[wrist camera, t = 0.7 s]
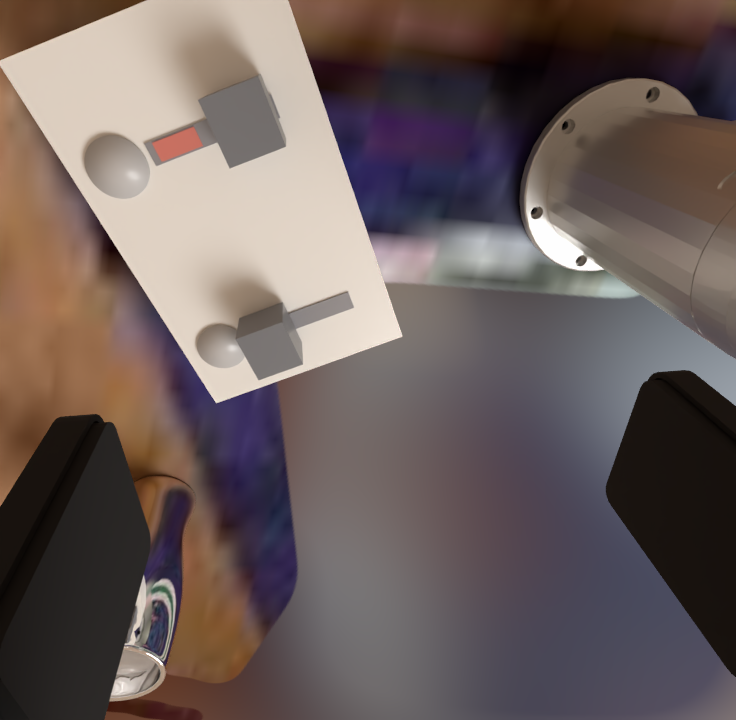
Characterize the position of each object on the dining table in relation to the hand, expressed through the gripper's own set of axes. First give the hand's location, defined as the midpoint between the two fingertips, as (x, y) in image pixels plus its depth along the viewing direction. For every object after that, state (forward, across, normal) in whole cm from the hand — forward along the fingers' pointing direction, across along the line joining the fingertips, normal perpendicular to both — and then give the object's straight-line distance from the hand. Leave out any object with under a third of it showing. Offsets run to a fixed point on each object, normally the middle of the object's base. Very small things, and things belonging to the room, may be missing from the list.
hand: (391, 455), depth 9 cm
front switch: (+23, +4, -3) cm, 23 cm away
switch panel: (+27, +5, +2) cm, 28 cm away
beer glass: (+28, +15, +28) cm, 42 cm away
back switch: (+23, +4, +9) cm, 25 cm away
